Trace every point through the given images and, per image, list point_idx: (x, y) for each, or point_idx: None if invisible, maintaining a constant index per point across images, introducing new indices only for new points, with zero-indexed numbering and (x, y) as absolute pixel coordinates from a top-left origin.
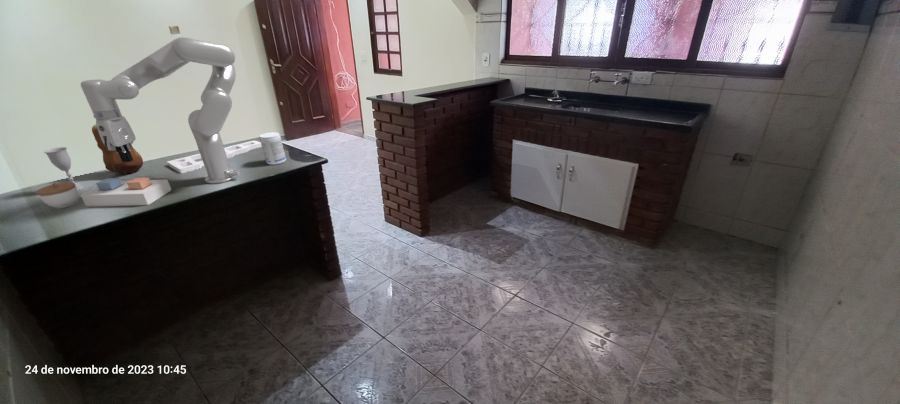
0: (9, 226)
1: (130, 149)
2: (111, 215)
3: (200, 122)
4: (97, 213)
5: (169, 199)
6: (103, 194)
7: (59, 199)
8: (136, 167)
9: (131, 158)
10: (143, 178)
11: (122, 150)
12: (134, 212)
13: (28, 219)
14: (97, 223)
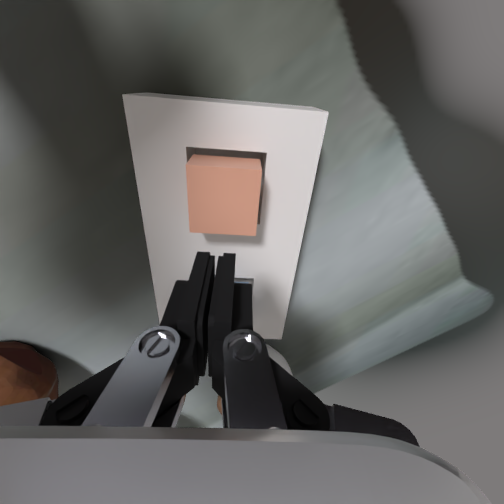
0: (351, 374)
1: (141, 334)
2: (374, 199)
3: None
4: (339, 253)
5: (264, 21)
6: (290, 283)
7: (287, 367)
8: (1, 347)
9: (206, 265)
10: (201, 186)
11: (269, 362)
12: (378, 123)
13: (325, 367)
14: (427, 204)
